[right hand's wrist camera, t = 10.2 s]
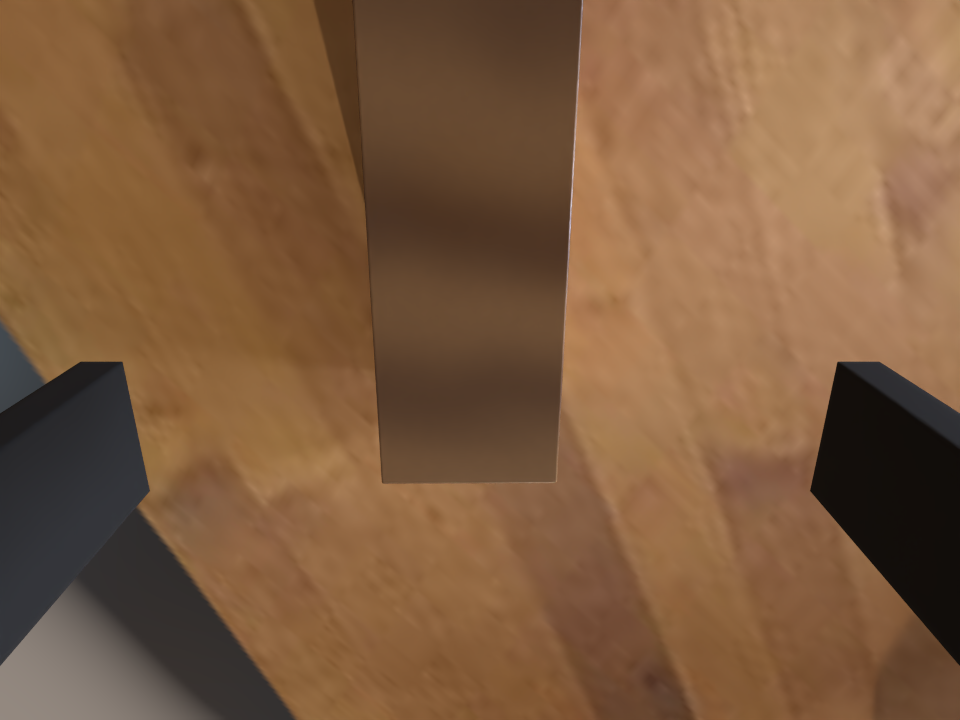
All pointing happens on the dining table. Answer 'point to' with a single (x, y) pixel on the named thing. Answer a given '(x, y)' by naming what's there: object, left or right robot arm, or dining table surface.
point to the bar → (468, 230)
